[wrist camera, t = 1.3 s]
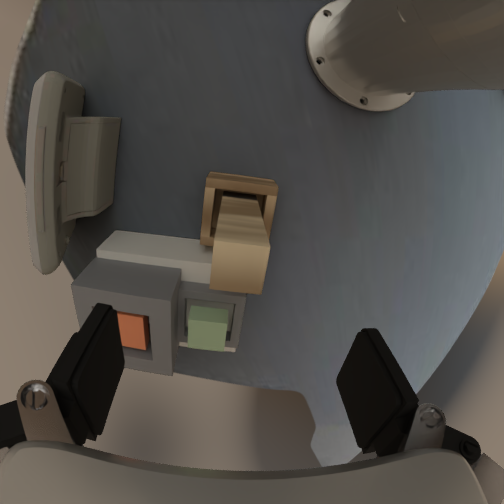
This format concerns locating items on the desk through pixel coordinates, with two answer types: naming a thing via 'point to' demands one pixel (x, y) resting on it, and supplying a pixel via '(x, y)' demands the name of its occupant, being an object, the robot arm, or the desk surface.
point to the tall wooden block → (239, 246)
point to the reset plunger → (133, 330)
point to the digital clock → (65, 166)
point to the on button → (207, 328)
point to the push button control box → (155, 292)
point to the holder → (239, 184)
